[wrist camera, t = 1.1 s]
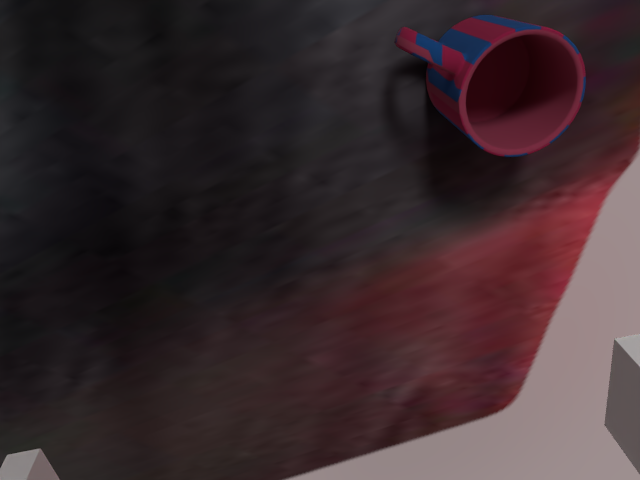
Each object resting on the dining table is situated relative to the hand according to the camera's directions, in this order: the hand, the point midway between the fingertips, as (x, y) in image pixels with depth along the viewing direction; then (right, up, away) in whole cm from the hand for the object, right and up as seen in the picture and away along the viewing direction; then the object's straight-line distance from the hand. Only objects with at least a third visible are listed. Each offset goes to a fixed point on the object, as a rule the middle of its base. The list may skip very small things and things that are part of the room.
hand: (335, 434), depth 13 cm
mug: (+8, +16, +21) cm, 28 cm away
